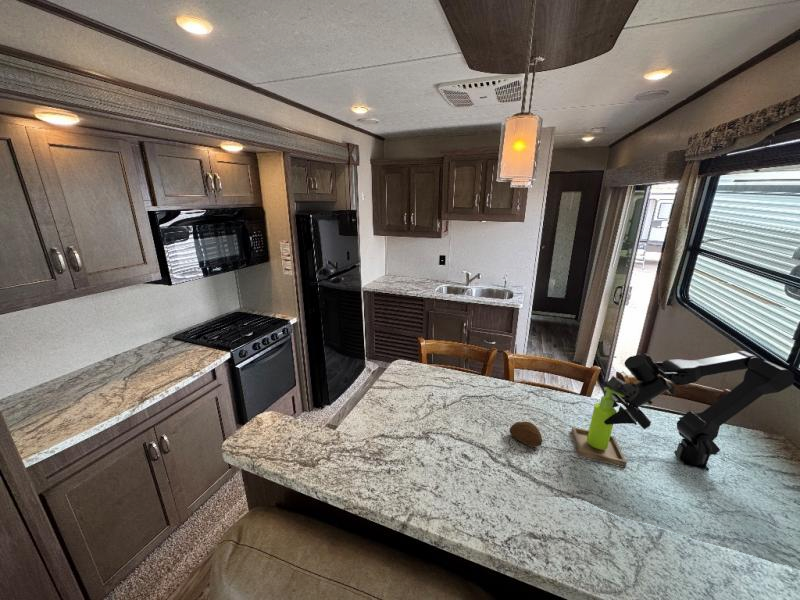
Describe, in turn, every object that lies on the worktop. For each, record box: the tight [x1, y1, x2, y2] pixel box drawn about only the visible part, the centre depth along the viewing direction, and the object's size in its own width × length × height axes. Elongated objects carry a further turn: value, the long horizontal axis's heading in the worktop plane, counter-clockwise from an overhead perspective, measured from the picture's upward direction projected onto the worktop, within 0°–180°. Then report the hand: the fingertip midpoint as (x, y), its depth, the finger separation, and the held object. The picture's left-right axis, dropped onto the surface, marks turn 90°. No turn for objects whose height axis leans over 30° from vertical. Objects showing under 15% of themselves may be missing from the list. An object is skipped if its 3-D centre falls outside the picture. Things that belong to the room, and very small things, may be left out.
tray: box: [571, 426, 628, 468], centre depth 103 cm, size 13×13×2 cm
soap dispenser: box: [587, 387, 625, 450], centre depth 100 cm, size 6×7×20 cm
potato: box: [508, 421, 543, 448], centre depth 104 cm, size 7×10×7 cm
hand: (600, 417), depth 100 cm, fingers closed on soap dispenser, 6 cm apart
